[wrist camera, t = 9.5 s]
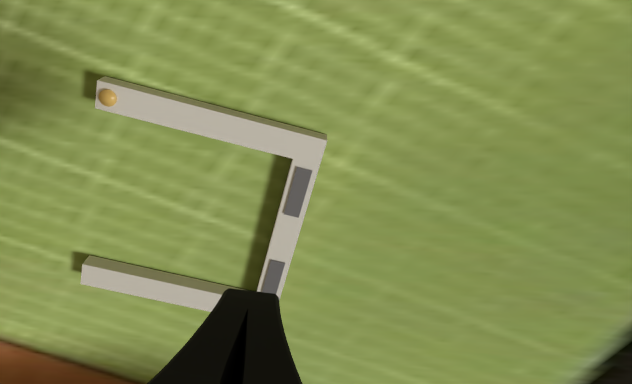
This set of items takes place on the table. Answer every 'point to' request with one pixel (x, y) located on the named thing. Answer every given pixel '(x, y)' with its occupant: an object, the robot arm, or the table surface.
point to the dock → (228, 128)
